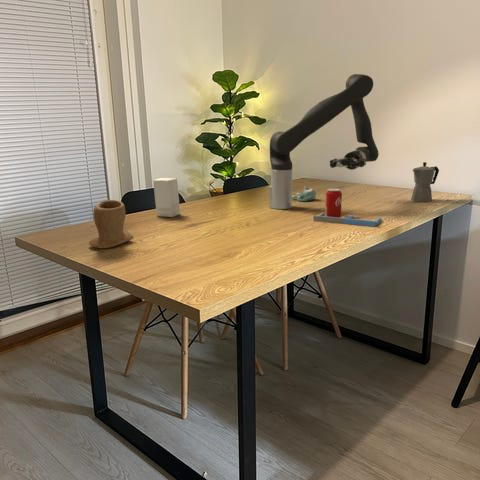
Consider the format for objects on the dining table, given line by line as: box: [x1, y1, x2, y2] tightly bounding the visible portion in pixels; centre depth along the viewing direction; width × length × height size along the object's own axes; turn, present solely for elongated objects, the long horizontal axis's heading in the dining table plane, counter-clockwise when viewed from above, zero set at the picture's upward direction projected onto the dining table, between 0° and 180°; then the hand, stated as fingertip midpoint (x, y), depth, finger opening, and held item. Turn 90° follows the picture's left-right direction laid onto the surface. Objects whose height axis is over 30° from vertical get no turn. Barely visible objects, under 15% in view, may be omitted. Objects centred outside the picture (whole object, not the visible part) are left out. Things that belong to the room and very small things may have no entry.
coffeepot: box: [410, 161, 440, 203], centre depth 220 cm, size 15×9×18 cm, turn 113°
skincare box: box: [152, 177, 181, 218], centre depth 197 cm, size 8×7×16 cm
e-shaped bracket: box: [313, 211, 382, 228], centre depth 185 cm, size 24×11×2 cm, turn 62°
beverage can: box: [324, 187, 343, 218], centre depth 187 cm, size 6×6×12 cm
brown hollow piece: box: [88, 199, 134, 249], centre depth 156 cm, size 15×12×15 cm
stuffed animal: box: [292, 185, 317, 203], centre depth 227 cm, size 11×7×12 cm
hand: (341, 165), depth 192 cm, fingers open, 8 cm apart
